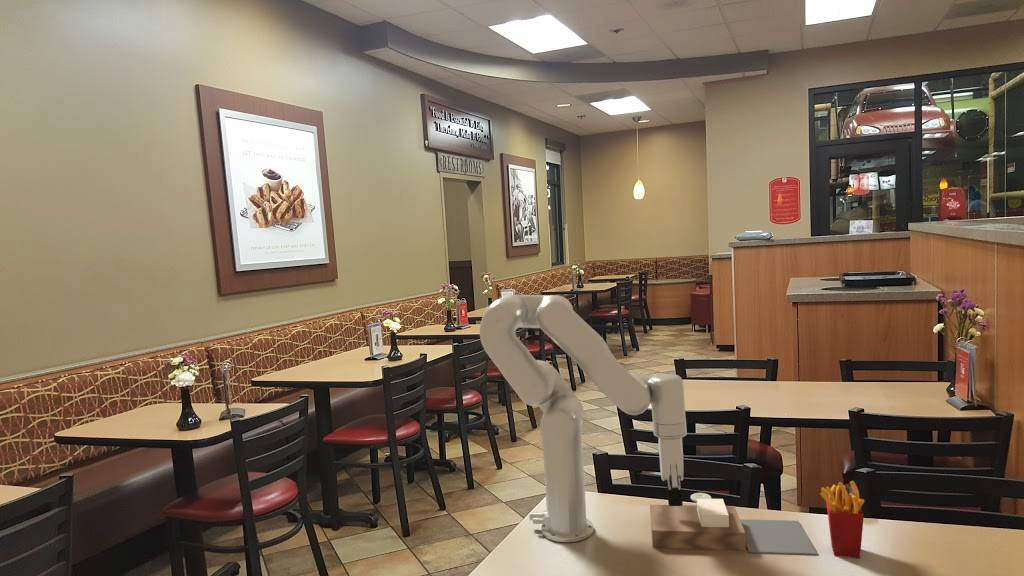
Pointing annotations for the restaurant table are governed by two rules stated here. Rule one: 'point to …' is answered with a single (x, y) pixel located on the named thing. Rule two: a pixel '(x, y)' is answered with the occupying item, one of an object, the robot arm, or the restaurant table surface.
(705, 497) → the sign
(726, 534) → the board
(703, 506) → the cream rectangular block
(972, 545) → the restaurant table surface
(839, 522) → the french fries
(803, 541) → the mat
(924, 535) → the restaurant table surface
